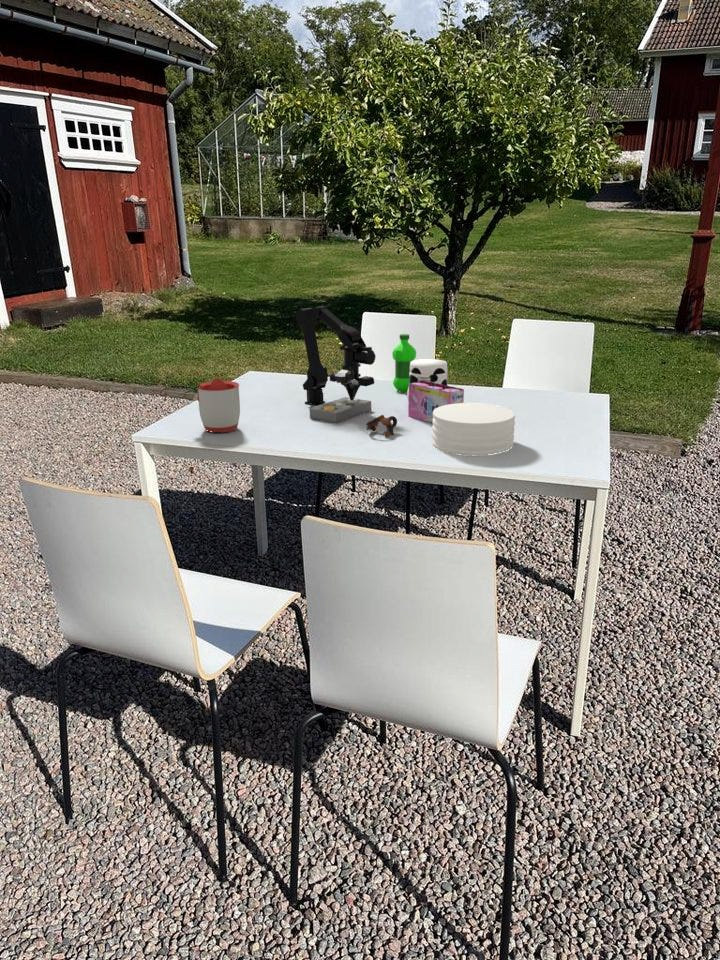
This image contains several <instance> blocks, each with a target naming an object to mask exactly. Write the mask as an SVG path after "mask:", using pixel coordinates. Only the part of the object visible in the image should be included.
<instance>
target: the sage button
mask: <svg viewBox="0 0 720 960" xmlns="http://www.w3.org/2000/svg"><path fill="white" fill-rule="evenodd" d="M336 406H339V407H344V406H346V403H344V402H339V403H336Z"/></svg>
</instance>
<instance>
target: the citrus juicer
mask: <svg viewBox="0 0 720 960" xmlns="http://www.w3.org/2000/svg"><path fill="white" fill-rule="evenodd" d="M196 391H197V393H196V394H194V397H193V399H192V401H198V410H199V415H200V420H201V423H202V425H203V428H204V429H205V431H206V430H208V431H212V432H214V433H215V432H221V433H229V432H228V431H231V432H232V431H235V430H237V428H238V425H239V421H240V416H241V415H240V414H241V404H240V403H241V401H240V384H239V382H237V381H231V380H230V381H229V380H223V379H221V378H220V377H218V376H216V377H215V378H214V379H213V381H207V382H201V383H200V384H199V383H198V387H197V390H196ZM208 431H207V432H208Z"/></svg>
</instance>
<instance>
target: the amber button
mask: <svg viewBox="0 0 720 960" xmlns="http://www.w3.org/2000/svg"><path fill="white" fill-rule="evenodd" d="M324 410H328V411H332V410H335V407H333V406H326V407H324Z"/></svg>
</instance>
